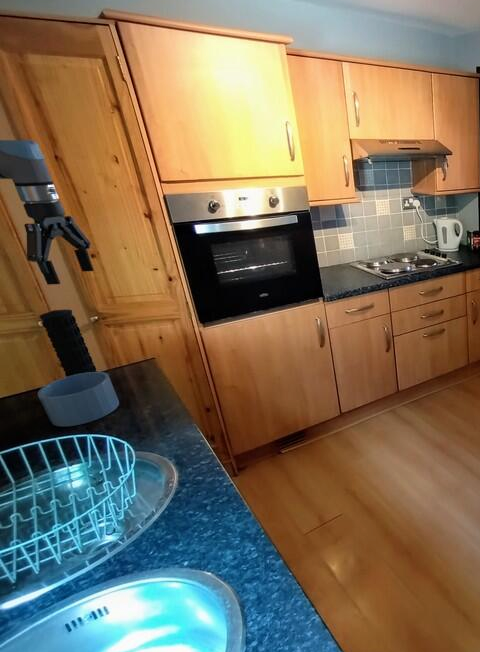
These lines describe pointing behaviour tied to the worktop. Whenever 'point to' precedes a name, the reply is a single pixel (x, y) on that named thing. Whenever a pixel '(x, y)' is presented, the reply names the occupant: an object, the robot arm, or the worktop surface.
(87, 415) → the blue round bowl
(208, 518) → the worktop surface
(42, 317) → the handle grip
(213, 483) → the worktop surface
